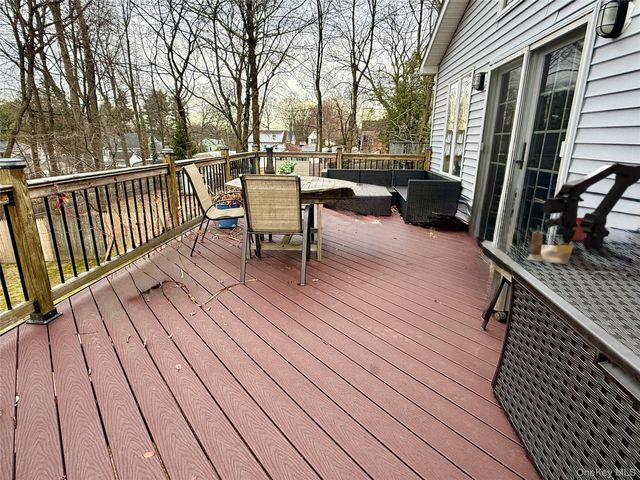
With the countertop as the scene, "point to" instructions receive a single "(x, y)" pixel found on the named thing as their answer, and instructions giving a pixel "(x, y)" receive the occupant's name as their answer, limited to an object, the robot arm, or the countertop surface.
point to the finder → (564, 248)
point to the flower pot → (579, 231)
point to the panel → (550, 255)
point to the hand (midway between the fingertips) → (566, 246)
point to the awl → (536, 242)
